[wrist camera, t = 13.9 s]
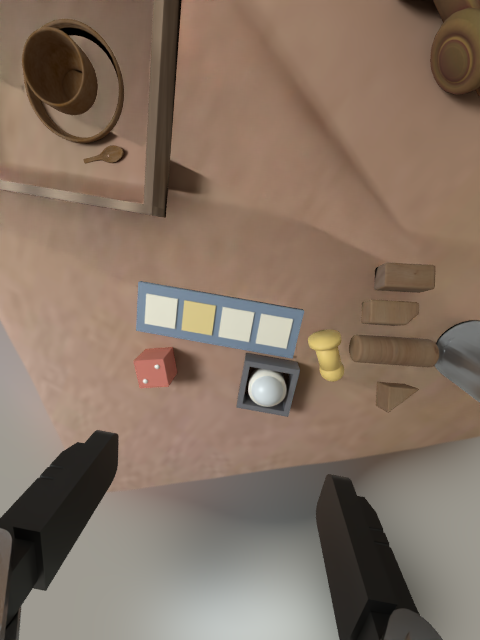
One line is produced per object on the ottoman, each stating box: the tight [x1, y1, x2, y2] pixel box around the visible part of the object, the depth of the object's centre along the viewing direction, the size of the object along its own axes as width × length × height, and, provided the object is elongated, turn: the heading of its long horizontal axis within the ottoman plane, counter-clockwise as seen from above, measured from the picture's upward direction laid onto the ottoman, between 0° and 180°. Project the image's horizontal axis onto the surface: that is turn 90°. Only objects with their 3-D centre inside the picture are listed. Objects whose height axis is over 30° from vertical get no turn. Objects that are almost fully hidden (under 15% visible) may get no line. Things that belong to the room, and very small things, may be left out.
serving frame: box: [0, 0, 182, 218], centre depth 30 cm, size 28×26×5 cm
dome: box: [248, 368, 286, 407], centre depth 40 cm, size 6×6×5 cm
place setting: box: [22, 19, 124, 163], centre depth 30 cm, size 18×20×6 cm
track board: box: [136, 281, 304, 359], centre depth 39 cm, size 24×8×1 cm, turn 81°
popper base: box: [237, 353, 300, 417], centre depth 41 cm, size 8×8×3 cm
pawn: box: [308, 330, 344, 381], centre depth 39 cm, size 4×4×7 cm
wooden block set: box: [349, 263, 439, 412], centre depth 35 cm, size 18×9×10 cm
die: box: [134, 347, 177, 388], centre depth 41 cm, size 4×4×4 cm
